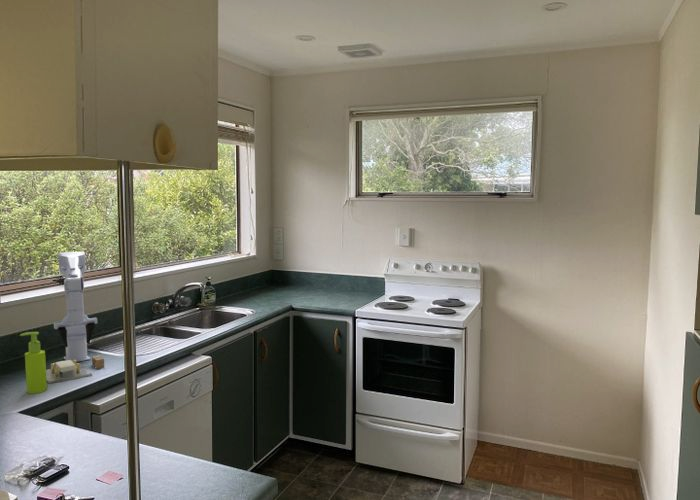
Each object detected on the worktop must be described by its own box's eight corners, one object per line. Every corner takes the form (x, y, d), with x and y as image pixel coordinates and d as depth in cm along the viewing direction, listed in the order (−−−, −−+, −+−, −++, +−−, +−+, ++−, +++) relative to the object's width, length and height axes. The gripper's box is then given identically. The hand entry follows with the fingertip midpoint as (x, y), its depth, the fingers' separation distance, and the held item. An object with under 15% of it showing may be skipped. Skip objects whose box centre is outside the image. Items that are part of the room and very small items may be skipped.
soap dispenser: (25, 389, 184) (21, 331, 182) (48, 386, 187) (45, 329, 185) (21, 394, 179) (18, 335, 177) (45, 392, 181) (42, 333, 179)
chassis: (40, 372, 202) (39, 362, 202) (81, 365, 211) (80, 355, 210) (49, 383, 190) (48, 372, 189) (92, 375, 198) (91, 364, 198)
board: (55, 366, 202) (55, 362, 202) (70, 363, 205) (70, 359, 205) (60, 372, 195) (60, 367, 195) (76, 369, 198) (75, 365, 198)
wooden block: (92, 364, 212) (91, 356, 211) (100, 363, 213) (99, 355, 213) (96, 368, 207) (96, 360, 207) (104, 367, 209) (103, 358, 208)
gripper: (55, 313, 195) (57, 350, 196) (98, 308, 204) (100, 343, 205) (51, 310, 201) (54, 346, 202) (94, 305, 210) (95, 340, 211)
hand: (77, 344), depth 204 cm, fingers open, 7 cm apart
